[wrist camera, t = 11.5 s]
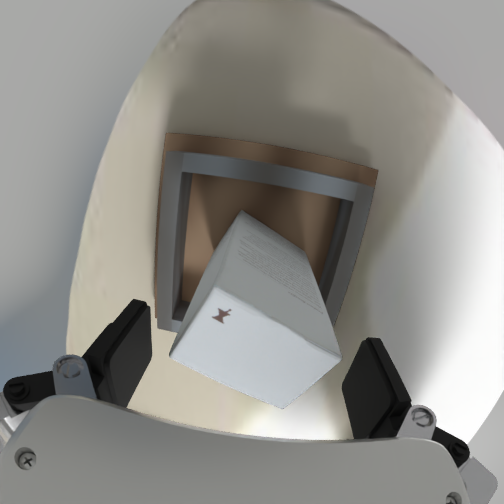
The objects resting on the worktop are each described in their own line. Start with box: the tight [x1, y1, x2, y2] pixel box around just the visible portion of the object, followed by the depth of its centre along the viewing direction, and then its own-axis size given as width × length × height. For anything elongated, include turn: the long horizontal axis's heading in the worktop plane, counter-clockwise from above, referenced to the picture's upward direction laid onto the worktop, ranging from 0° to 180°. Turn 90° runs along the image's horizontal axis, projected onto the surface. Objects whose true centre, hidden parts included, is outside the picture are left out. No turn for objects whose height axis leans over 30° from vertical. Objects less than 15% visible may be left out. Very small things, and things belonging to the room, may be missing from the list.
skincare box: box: [169, 210, 342, 409], centre depth 16 cm, size 6×4×12 cm
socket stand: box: [155, 133, 378, 333], centre depth 21 cm, size 16×16×4 cm
